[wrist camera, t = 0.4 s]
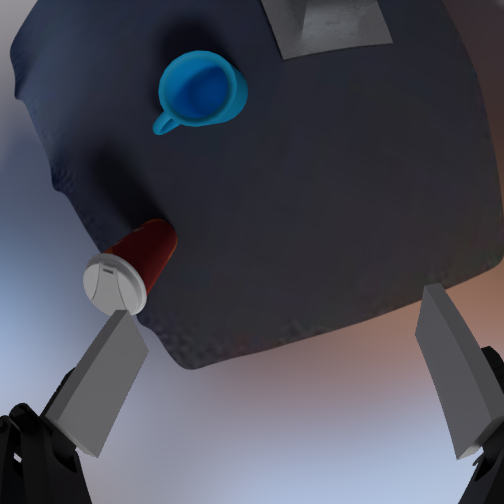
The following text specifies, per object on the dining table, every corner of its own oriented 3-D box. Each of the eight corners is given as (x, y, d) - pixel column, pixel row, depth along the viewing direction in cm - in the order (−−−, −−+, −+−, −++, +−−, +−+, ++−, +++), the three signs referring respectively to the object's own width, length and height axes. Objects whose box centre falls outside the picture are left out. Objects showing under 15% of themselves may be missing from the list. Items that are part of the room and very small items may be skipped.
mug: (222, 50, 30) (205, 35, 22) (261, 98, 32) (253, 93, 25) (151, 108, 34) (120, 109, 27) (186, 153, 36) (162, 164, 29)
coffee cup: (137, 205, 40) (76, 250, 27) (188, 218, 40) (142, 272, 27) (134, 254, 44) (83, 309, 31) (181, 268, 44) (141, 332, 31)
